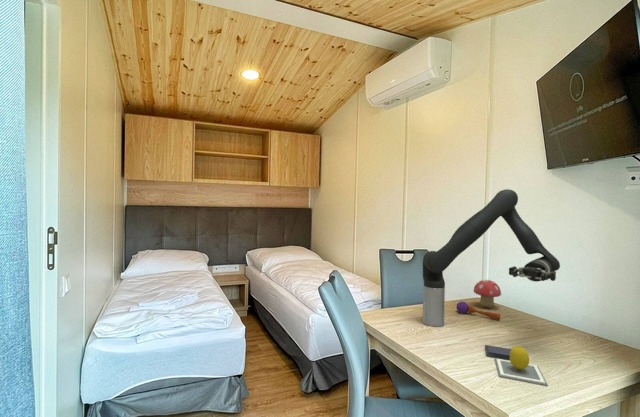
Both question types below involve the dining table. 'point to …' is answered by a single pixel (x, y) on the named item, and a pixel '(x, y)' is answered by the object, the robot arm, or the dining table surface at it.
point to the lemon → (519, 358)
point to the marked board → (520, 372)
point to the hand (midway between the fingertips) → (528, 276)
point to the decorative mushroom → (487, 292)
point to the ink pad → (497, 352)
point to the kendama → (464, 308)
